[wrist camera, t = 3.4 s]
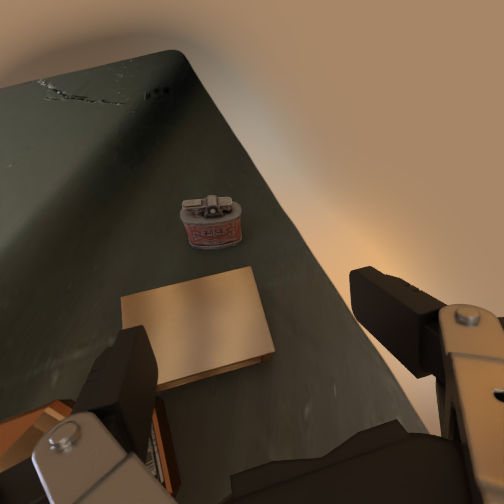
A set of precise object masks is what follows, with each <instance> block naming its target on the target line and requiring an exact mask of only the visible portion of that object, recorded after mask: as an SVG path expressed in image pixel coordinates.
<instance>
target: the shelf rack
mask: <svg viewBox="0 0 504 504" xmlns="http://www.w3.org/2000/svg"><path fill="white" fill-rule="evenodd" d="M121 308H122V322H123V329H127V328H131V327H134V326H138V325H143V326H144V328H145V330H146V332H147V335H148V338H149V341H150V344H151V346H152V349H153V352H154V355H155V358H156V361H157V365H158V383H157V390H156V392H160V391H163V390H167V389H170V388H174V387H177V386H181V385H184V384H188V383H191V382H195V381H198V380H202V379H205V378H209V377H212V376H216V375H219V374H223V373H226V372H230V371H233V370H237V369H240V368H244V367H247V366H251V365H254V364H258V363H261V362H265V361H268V360H270V358H271V357H272V355H273V354H274V353H275V348H274V345H273V341H272V338H271V334H270V331H269V328H268V324H267V321H266V317H265V314H264V310H263V307H262V304H261V300H260V297H259V293H258V290H257V286H256V283H255V280H254V276H253V273H252V269H251V266H249V267H245V268H240V269H236V270H232V271H228V272H224V273H219V274H215V275H211V276H207V277H203V278H199V279H194V280H190V281H186V282H182V283H178V284H174V285H169V286H165V287H161V288H157V289H153V290H148V291H144V292H140V293H136V294H132V295H128V296H123V297H121Z"/></svg>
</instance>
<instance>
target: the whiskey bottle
mask: <svg viewBox="0 0 504 504" xmlns="http://www.w3.org/2000/svg"><path fill="white" fill-rule="evenodd" d="M75 403H76V402H75V401H73V400H71V399H69V400H55V401H52V402H50V403H47V404H44V405H42V406H39V407H36V408H34V409H31V410H28V411H26V412H23V413H20V414H18V415H15V416H12V417H10V418H7V419H4V420H2V421H0V473H1V472H3V471H5V470H7V469H8V468H10V467H12V466H14V465H16V464H18V463H20V462H22V461H23V460H25V459H27V458H29V457H31V456H32V453H33V449H34V447H35V445H36V444H37V442H38V441H39V439H40V438H41V437H42V436H43V435H44V434H45V433H46V432H47V431H48V430H49V429H50V428H51V427H52V426H54V425H55V424H56V423H58V422H59V421H61V420H62V419H64V418H66V417H68V416H70V414H71V412H72V409H73V407H74V405H75ZM145 466H146V467H147V468H148V469H149V470H150V472H151V473H152V474H153V475H154V476H155V477H156V479H157V480H158V481H159V482H160V483H161V484H162V486H163V487H164V488H165V489H166V490H167V491H168V493H169V494H170V495H171V496H172V497H173V499H174V498H175V497H176V495H177V492H178V490H179V488H180V485H181V480H180V476H179V471H178V467H177V462H176V457H175V453H174V448H173V444H172V439H171V435H170V430H169V425H168V421H167V416H166V412H165V407H164V403H163V400H161V399H159V398H158V397H155V404H154V411H153V418H152V425H151V432H150V438H149V445H148V452H147V459H146V465H145Z"/></svg>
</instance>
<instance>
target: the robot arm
mask: <svg viewBox="0 0 504 504" xmlns="http://www.w3.org/2000/svg"><path fill="white" fill-rule="evenodd" d="M349 281H350V294H351V306H352V311H353V314H354V316H355V318H356V319H357V321H358V322H359V323H360V324H361V325H362V326H363V327H365V328H366V329H367V330H368V331H369V332H370V333H371V334H372V335H373V336H374V337H375V338H376V339H377V340H378V341H379V342H380V343H381V344H382V345H383V346H384V347H385V348H386V349H387V350H388V351H390V353H391V354H392V355H394V357H395V358H397V359H398V360H399V361H400V362H401V363H402V364H403V365H404V366H405V367H406V368H407V369H408V370H409V371H410V372H411V373H412V374H413V375H414V376H415V377H416V378H417V379H419V378H422V377H425V376H428V375H431V374H433V375H434V376H435V377H436V394H437V403H438V411H439V419H440V428H441V437H439V436H436V435H430V434H423V433H407V431H406V430H405V429H404V428H403V426H402V425H401V424H400V423H399V421H398V420H397V419H396V420H393V421H390V422H387V423H384V424H381V425H378V426H375V427H372V428H369V429H366V430H363V431H360V432H358V433H356V434H355V435H354V436H352V437H351V438H349V439H348V440H347V441H345V442H344V443H342V444H341V445H339V446H338V447H337V448H335V449H334V450H332V451H331V452H329V453H328V454H327V455H325V456H323V457H321V458H313V459H297V460H281V461H272V462H269V463H266V464H263V465H260V466H257V467H254V468H251V469H248V470H245V471H242V472H240V473H237V474H234V475H231V476H230V480H231V488H232V493H231V494H230V495H228V496H227V497H225V498H224V499H223V500H222V501H221V502H219V503H218V504H504V317H496V316H495V315H494V314H493V313H491V312H490V311H488V310H486V309H483V308H480V307H477V306H473V305H466V304H453V305H446V304H444V303H443V302H441V301H439V300H437V299H436V298H434V297H432V296H430V295H429V294H427V293H425V292H423V291H419V289H418V288H416V287H415V286H413V285H410V284H409V283H408V282H406V281H404V280H402V279H400V278H397V277H394V276H390V275H387V274H386V275H385V274H383V273H381V272H380V271H378V270H376V269H375V268H373V267H371V266H368V267H364V268H360V269H356V270H352V271H351V272H350V274H349ZM157 383H158V365H157V361H156V358H155V355H154V352H153V349H152V346H151V344H150V341H149V338H148V335H147V332H146V330H145V328H144V326H143V325H138V326H134V327H131V328H127V329H123V330H120V331H119V333H118V336H117V338H116V340H115V343H114V345H113V347H109V348H106V349H105V350H104V351H103V353H102V354H101V355H100V356H99V357H98V358H97V359H96V360H95V362H94V365H93V367H92V369H91V373H89V375H88V377H87V380H86V383H85V384H84V386H83V388H82V390H81V392H80V394H79V397H78V399H77V401H76V403H75V405H74V407H73V409H72V412H71V414H70V416H68V417H66V418H64V419H62V420H61V421H59V422H58V423H56V424H55V425H54V426H52V427H51V428H50V429H49V430H48V431H47V432H46V433H45V434H44V435H43V436H42V437H41V438H40V439H39V441H38V442H37V444H36V445H35V447H34V449H33V453H32V456H31V457H29V458H27V459H25V460H23V461H22V462H20V463H18V464H16V465H14V466H12V467H10V468H8V469H7V470H5V471H3V472H1V473H0V504H178V503H177V502H176V501H175V500H174V499H173V497H172V496H171V495H170V494H169V493H168V491H167V490H166V489H165V488H164V487H163V486H162V484H161V483H160V482H159V481H158V480H157V479H156V477H155V476H154V475H153V474H152V473H151V472H150V470H149V469H148V468H147V467H146V466H145V465H146V459H147V452H148V445H149V438H150V432H151V425H152V418H153V411H154V404H155V397H156V390H157Z"/></svg>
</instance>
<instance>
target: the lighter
mask: <svg viewBox="0 0 504 504" xmlns="http://www.w3.org/2000/svg"><path fill="white" fill-rule="evenodd" d="M182 207H183V208H182V209H181V211H180V218H181V221H182V222H183V223H184V225H185V228H186V231H187V234H188V236H189V243H190V245H191V247H193V248H195V249H220V248H226V247H230V246H234V245H237V244H239V243H240V242H241V240H242V233H241V229H240V217H241V207H240V205H239V204H238V203H236V202H232V200H231V198H230V197H220V198H219V197H217V196H215V195H209V196H207V198H205V199H197V200H186V201H183V202H182Z"/></svg>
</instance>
